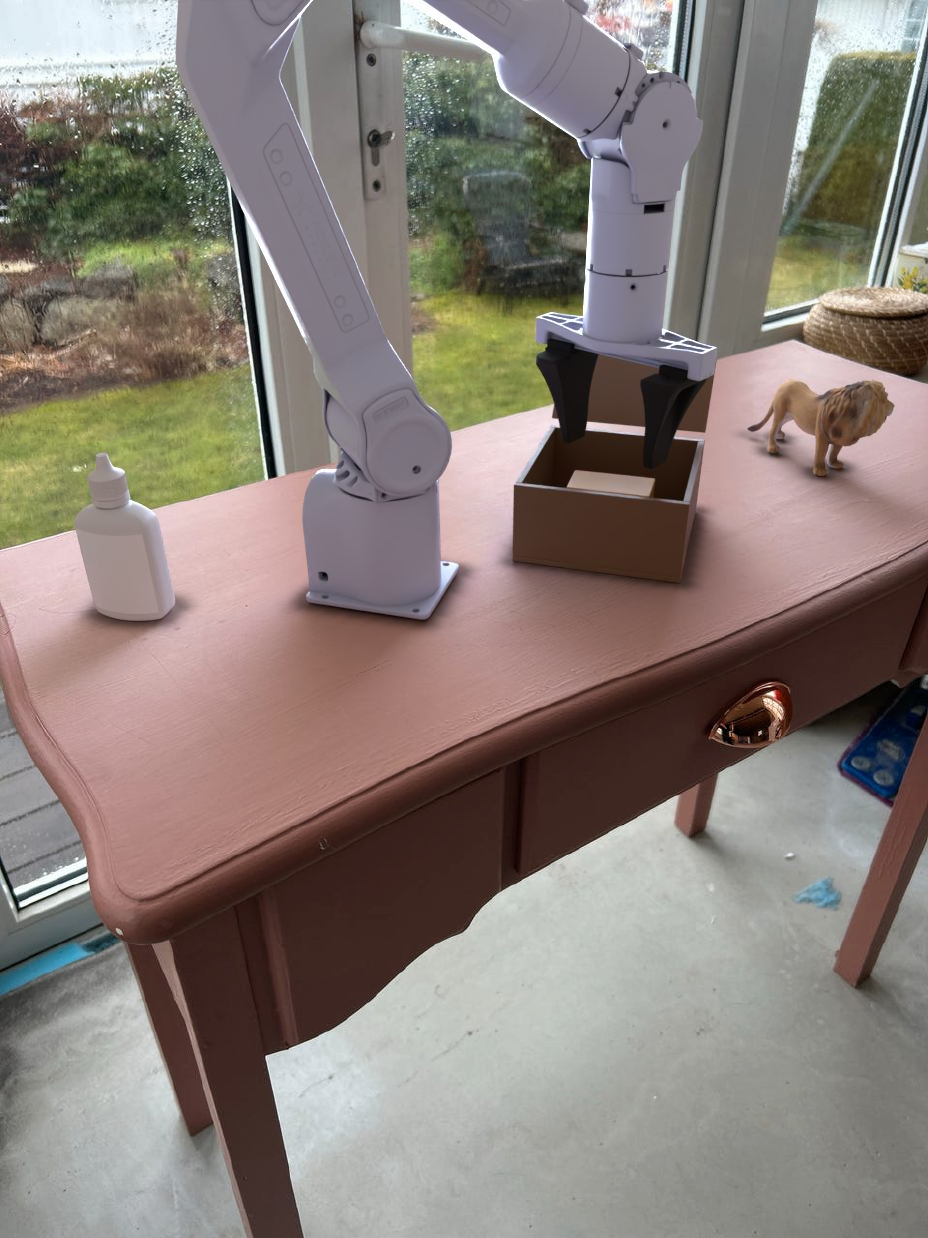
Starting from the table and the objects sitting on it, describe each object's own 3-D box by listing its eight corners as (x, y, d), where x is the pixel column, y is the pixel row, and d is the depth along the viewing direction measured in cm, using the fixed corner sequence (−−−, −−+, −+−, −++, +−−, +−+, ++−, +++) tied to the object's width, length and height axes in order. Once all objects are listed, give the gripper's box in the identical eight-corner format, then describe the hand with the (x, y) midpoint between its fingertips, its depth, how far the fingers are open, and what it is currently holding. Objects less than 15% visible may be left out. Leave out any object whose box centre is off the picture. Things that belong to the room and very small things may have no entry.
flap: (564, 347, 82) (564, 348, 83) (551, 417, 81) (552, 418, 82) (716, 358, 79) (716, 360, 79) (705, 431, 78) (705, 432, 79)
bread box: (512, 561, 75) (513, 484, 71) (548, 494, 85) (550, 424, 82) (679, 583, 72) (689, 504, 68) (695, 510, 82) (705, 439, 79)
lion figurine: (887, 476, 88) (910, 381, 83) (849, 490, 85) (871, 393, 80) (763, 429, 98) (778, 342, 93) (727, 440, 96) (740, 351, 91)
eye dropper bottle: (131, 635, 66) (94, 475, 60) (88, 608, 69) (49, 454, 63) (184, 610, 69) (154, 455, 63) (141, 585, 72) (107, 435, 66)
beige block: (563, 539, 77) (566, 487, 74) (572, 520, 80) (574, 469, 77) (644, 549, 75) (649, 496, 73) (650, 529, 78) (655, 478, 76)
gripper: (749, 272, 65) (722, 460, 72) (578, 245, 73) (569, 415, 80) (694, 291, 60) (671, 489, 67) (519, 260, 69) (515, 439, 76)
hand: (612, 451), depth 74 cm, fingers open, 7 cm apart
